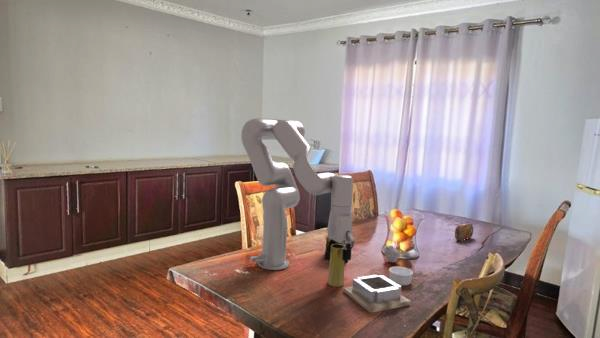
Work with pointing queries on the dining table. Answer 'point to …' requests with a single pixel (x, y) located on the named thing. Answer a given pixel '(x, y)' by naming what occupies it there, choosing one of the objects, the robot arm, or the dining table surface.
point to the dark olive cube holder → (327, 253)
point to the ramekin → (401, 275)
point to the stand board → (373, 306)
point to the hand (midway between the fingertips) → (339, 255)
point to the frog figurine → (391, 253)
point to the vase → (336, 266)
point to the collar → (384, 294)
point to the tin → (463, 231)
